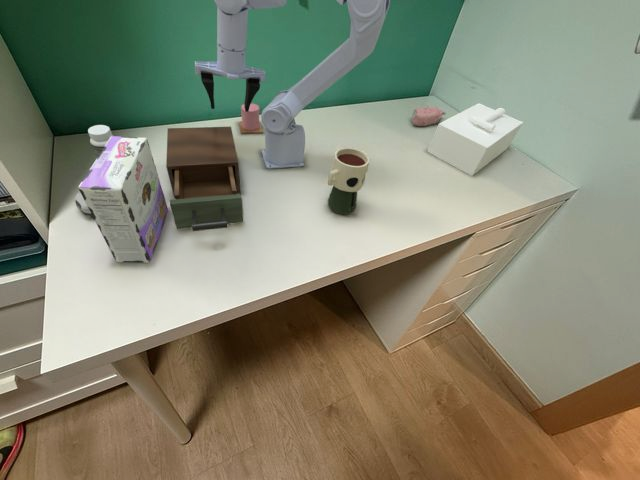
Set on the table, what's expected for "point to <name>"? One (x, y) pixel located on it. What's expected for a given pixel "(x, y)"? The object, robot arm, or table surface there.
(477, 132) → the white slanted box
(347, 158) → the character mug
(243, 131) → the cork mat
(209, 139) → the cabinet
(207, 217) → the drawer
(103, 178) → the candy box
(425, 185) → the table surface
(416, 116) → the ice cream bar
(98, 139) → the pill bottle
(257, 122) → the pink short cylinder
